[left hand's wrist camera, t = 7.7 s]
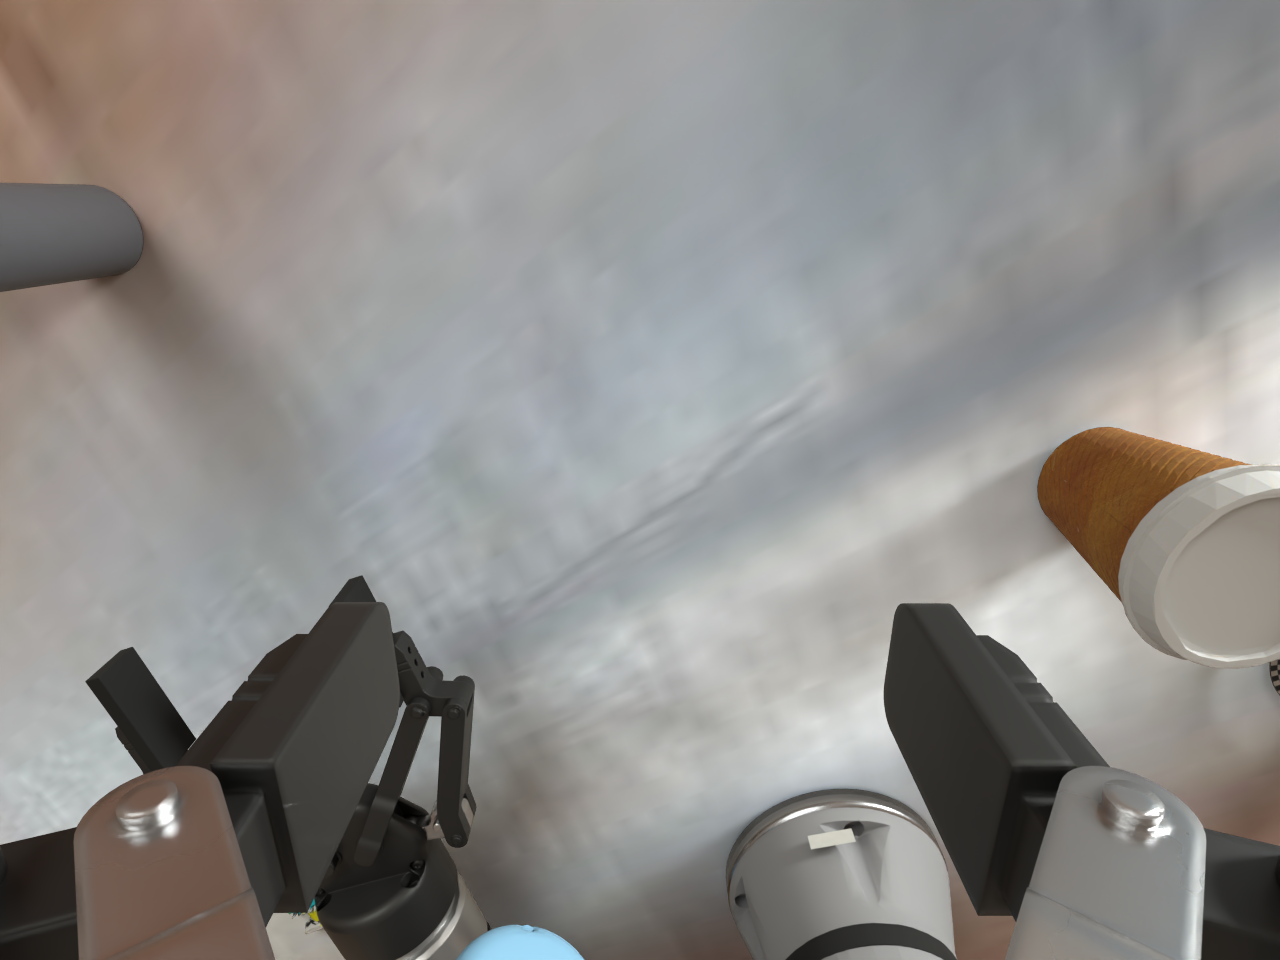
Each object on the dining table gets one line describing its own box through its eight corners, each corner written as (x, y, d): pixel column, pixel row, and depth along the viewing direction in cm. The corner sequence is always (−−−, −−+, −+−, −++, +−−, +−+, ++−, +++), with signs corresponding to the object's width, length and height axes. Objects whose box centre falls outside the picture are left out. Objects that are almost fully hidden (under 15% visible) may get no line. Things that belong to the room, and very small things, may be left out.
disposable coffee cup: (1009, 413, 40) (1151, 496, 29) (1187, 385, 40) (1402, 459, 29) (1006, 565, 44) (1133, 692, 32) (1170, 541, 43) (1357, 662, 32)
